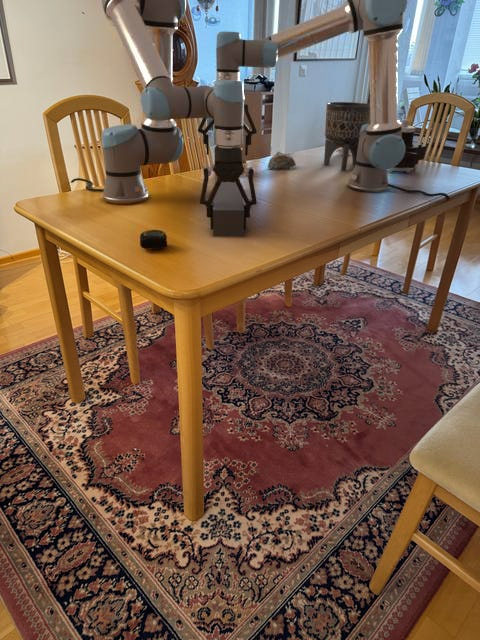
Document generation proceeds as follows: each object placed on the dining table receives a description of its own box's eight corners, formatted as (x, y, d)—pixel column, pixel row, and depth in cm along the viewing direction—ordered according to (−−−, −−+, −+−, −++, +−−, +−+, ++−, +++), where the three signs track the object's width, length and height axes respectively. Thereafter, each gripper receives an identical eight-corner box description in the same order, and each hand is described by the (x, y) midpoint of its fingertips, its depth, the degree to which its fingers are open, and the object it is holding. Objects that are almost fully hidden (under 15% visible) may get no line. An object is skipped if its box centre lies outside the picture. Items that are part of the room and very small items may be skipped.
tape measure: (140, 252, 115) (139, 238, 113) (141, 242, 120) (140, 229, 119) (167, 251, 116) (166, 237, 114) (167, 241, 121) (166, 228, 120)
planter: (313, 167, 208) (319, 103, 195) (331, 160, 222) (338, 101, 209) (353, 173, 199) (362, 107, 185) (369, 166, 213) (379, 104, 199)
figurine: (357, 153, 242) (361, 127, 235) (346, 157, 231) (349, 130, 224) (343, 151, 245) (346, 126, 239) (331, 155, 235) (334, 129, 228)
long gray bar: (215, 189, 171) (215, 168, 168) (238, 189, 172) (238, 169, 168) (213, 236, 127) (212, 210, 123) (243, 236, 127) (244, 210, 123)
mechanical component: (372, 119, 196) (401, 114, 216) (364, 169, 206) (392, 160, 226) (421, 124, 184) (447, 118, 203) (410, 177, 194) (436, 167, 214)
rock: (286, 164, 212) (287, 149, 208) (299, 167, 206) (301, 152, 203) (265, 168, 204) (266, 153, 201) (279, 171, 199) (280, 156, 195)
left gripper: (187, 147, 116) (190, 232, 128) (270, 148, 117) (266, 232, 128) (189, 142, 123) (192, 223, 134) (267, 144, 123) (263, 224, 135)
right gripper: (189, 86, 146) (190, 155, 156) (266, 88, 147) (263, 157, 157) (190, 85, 152) (192, 151, 163) (264, 87, 153) (261, 153, 164)
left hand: (228, 228), depth 131 cm, fingers closed on long gray bar, 9 cm apart
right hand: (227, 154), depth 160 cm, fingers open, 13 cm apart
